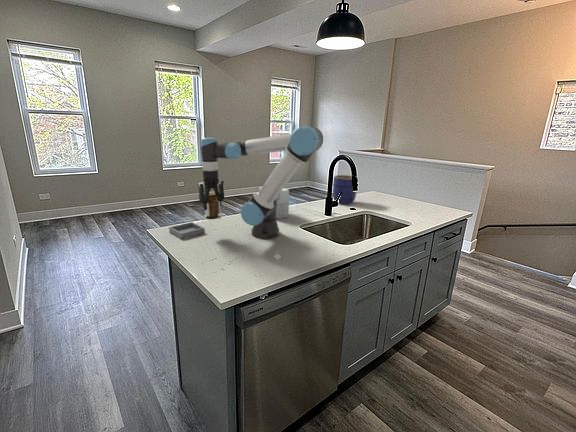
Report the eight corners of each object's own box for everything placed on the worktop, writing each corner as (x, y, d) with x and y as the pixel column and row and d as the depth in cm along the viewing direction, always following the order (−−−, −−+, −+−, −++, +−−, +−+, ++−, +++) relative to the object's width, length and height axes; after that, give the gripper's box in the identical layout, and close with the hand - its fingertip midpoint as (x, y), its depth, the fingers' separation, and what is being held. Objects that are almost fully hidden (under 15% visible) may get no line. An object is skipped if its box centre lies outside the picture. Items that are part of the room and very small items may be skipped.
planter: (331, 204, 229) (333, 178, 222) (332, 199, 246) (334, 174, 240) (356, 206, 226) (358, 179, 220) (354, 200, 243) (357, 175, 237)
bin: (204, 233, 162) (204, 228, 161) (181, 239, 152) (181, 233, 152) (192, 227, 170) (191, 222, 170) (169, 232, 161) (168, 227, 160)
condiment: (217, 214, 160) (216, 192, 157) (221, 218, 153) (220, 195, 149) (203, 215, 157) (202, 193, 153) (207, 220, 150) (205, 197, 146)
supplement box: (289, 216, 195) (290, 189, 190) (271, 219, 188) (272, 191, 183) (275, 210, 209) (275, 185, 204) (258, 212, 202) (258, 186, 196)
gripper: (222, 167, 157) (224, 209, 164) (188, 170, 144) (192, 216, 151) (230, 168, 152) (232, 212, 159) (196, 172, 139) (200, 219, 146)
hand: (213, 214), depth 155 cm, fingers closed on condiment, 6 cm apart
